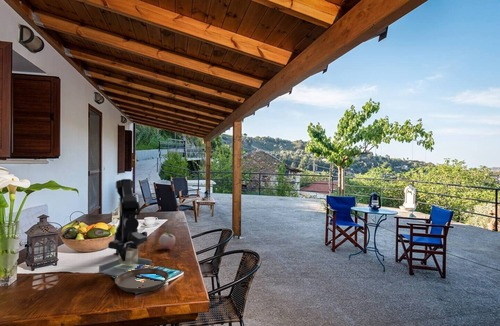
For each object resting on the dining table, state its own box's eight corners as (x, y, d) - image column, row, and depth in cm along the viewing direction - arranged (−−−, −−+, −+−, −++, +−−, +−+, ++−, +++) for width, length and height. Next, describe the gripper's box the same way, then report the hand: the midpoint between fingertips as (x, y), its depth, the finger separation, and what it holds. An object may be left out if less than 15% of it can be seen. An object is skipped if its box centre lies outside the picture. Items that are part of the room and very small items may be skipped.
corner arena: (98, 272, 136) (99, 265, 137) (128, 261, 152) (128, 255, 152) (124, 278, 131) (124, 271, 131) (151, 266, 146) (151, 260, 146)
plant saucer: (167, 293, 117) (167, 285, 117) (109, 297, 112) (109, 288, 112) (170, 274, 137) (170, 267, 137) (121, 276, 133) (121, 269, 133)
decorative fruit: (155, 250, 173) (155, 232, 173) (164, 246, 181) (164, 229, 181) (168, 252, 170) (169, 234, 170) (177, 248, 177) (178, 231, 177)
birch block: (129, 265, 140) (130, 251, 140) (118, 262, 143) (118, 249, 143) (137, 262, 144) (138, 248, 145) (126, 259, 147) (126, 246, 147)
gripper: (126, 232, 132) (125, 268, 132) (156, 224, 149) (155, 256, 149) (107, 229, 136) (106, 264, 136) (138, 222, 153) (137, 253, 153)
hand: (128, 259), depth 144 cm, fingers closed on birch block, 5 cm apart
